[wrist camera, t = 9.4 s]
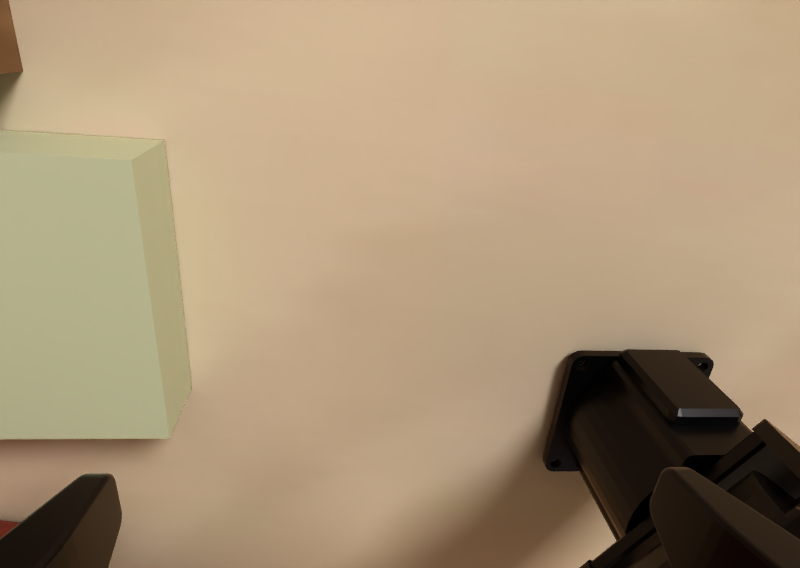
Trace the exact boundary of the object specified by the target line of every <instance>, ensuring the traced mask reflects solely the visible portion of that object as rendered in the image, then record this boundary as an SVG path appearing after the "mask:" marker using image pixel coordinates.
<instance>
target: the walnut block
mask: <svg viewBox="0 0 800 568" xmlns="http://www.w3.org/2000/svg"><path fill="white" fill-rule="evenodd" d="M20 71H23V68H22V63H21V59H20V54H19V49H18V44H17V39H16V34H15V30H14V25H13V20H12V15H11V10H10V5H9V1H8V0H0V74H4V73H12V72H20Z"/></svg>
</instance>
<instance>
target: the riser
mask: <svg viewBox="0 0 800 568" xmlns="http://www.w3.org/2000/svg"><path fill="white" fill-rule="evenodd" d="M191 388H192V385H191V376H190V367H189V358H188V349H187V339H186V330H185V321H184V312H183V303H182V294H181V285H180V276H179V267H178V258H177V248H176V239H175V230H174V221H173V212H172V203H171V194H170V185H169V176H168V167H167V157H166V148H165V140H154V139H138V138H121V137H105V136H89V135H73V134H57V133H40V132H24V131H8V130H0V439H170V437H171V435H172V433H173V430H174V428H175V426H176V423H177V421H178V419H179V416H180V414H181V412H182V409H183V407H184V405H185V402H186V400H187V398H188V395H189V393H190V391H191Z"/></svg>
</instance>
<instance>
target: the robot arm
mask: <svg viewBox="0 0 800 568" xmlns="http://www.w3.org/2000/svg"><path fill="white" fill-rule="evenodd" d="M581 361H584V363H582V364H581V365H578V363H579V362H581ZM700 363H701V365H699V364H700ZM698 365H699V366H698ZM713 365H714V363H713V360H711V359H710V358H709V357H708V356H707V355H706V354H705V353H698V352H680V351H678V350H631V349H627V350H624V351H577V352H575V353H573V354H572V355H571V356H570V357H569V359H568V362H567V366H566V370H565V374H564V377H563V381H562V385H561V389H560V393H559V397H558V401H557V405H556V408H555V412H554V416H553V420H552V424H551V428H550V432H549V435H548V439H547V443H546V447H545V451H544V455H543V462H544V464H545V466H546V468H547V469H548V470H549V471H580V473H581V475H582V477H583V479H584V481H585V483H586V485H587V486H588V488H589V490H590V492H591V494H592V496H593V498H594V500H595V501H596V503H597V505H598V507H599V509H600V511H601V513H602V515H603V516H604V518H605V520H606V522H607V524H608V526H609V528H610V530H611V531H612V533H613V535H614V537H615V539H616V541H617V542H615V543H614V544H613V545H612V546H610V547H609V548H608V549H607V550H605V551H604V552H603V553H602V554H600V555H599V556H598V557H597V558H595V559H594V560H593V561H591V560H588V561H587V562H586V563H585V564H584V565H582V566H581V567H580V568H800V446H798V445H797V444H796V443H795V442H793V441H792V440H791V439H790V438H788V437H787V436H786V435H785V434H783V433H782V432H781V431H780V430H779V429H777V428H776V427H775V426H774V425H772V424H771V423H770V422H769V421H767V420H766V419H764V420H762V421H761V422H760V423H759V424H757V425H756V426H755V427H754V428H753V429H752V430H753V431H754V432H752V431H751V430H750V429H749V428H748V427H747V426H746V425H745V424H744V423H743V422H741V419H742V417H743V413H742V411H741V410H740V408H739V407H738V406H737V405H736V404H735V403H734V402H733V401H732V400H731V399H730V398H729V397H728V396H726V395H725V394H724V393H723V392H722V391H721V390H720V389H719V388H718V387H717V386H716V385H715V384H714V383H713V382H712V381H711V380H710V379H709V376H710V374H711V371H712V369H713ZM556 459H557V460H556ZM553 460H555V461H553ZM121 519H122V511H121V506H120V501H119V496H118V491H117V486H116V481H115V479H114V477H113V476H112V475H111V474H84V475H82V476H80V477H78V478H77V479H76V480H74V481H73V482H72V483H71V484H69V485H68V486H67V487H65V488H64V489H63V490H62V491H60V492H59V493H58V494H56V495H55V496H54V497H53V498H51V499H50V500H49V501H48V502H46V503H45V504H44V505H42V506H41V507H40V508H39V509H37V510H36V511H35V512H33V513H32V514H31V515H30V516H28V517H27V518H26V519H25V520H23V521H22V522H21V523H19V524H18V525H17V526H16V527H14V528H13V529H12V530H10V531H9V532H8V533H7V534H5V535H4V536H3V537H2V538H0V568H108V566H109V563H110V560H111V556H112V553H113V550H114V546H115V543H116V540H117V536H118V533H119V530H120V526H121Z"/></svg>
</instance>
